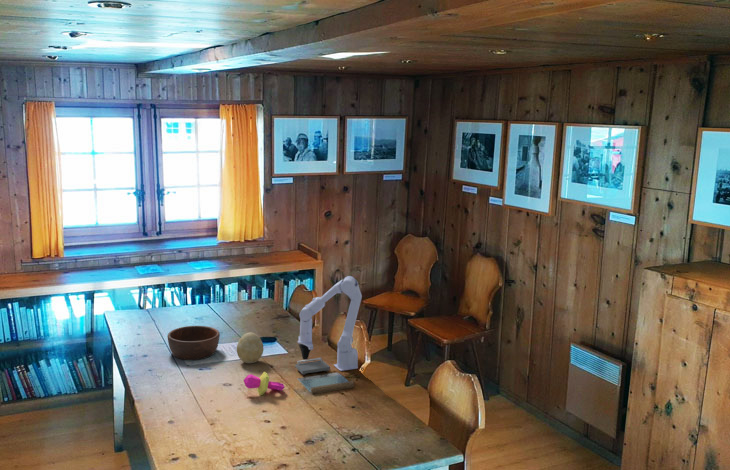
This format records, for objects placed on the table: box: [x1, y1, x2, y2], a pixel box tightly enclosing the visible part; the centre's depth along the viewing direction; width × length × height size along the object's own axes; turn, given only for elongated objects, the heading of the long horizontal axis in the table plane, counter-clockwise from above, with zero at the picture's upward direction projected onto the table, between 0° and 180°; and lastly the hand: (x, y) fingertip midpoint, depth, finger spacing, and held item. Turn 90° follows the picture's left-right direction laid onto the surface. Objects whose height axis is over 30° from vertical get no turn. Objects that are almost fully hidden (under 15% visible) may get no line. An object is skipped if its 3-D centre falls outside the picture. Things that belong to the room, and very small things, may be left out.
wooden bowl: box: [166, 325, 221, 361], centre depth 336 cm, size 25×25×10 cm
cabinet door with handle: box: [294, 357, 331, 376], centre depth 319 cm, size 14×9×4 cm, turn 116°
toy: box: [243, 371, 285, 396], centre depth 292 cm, size 10×18×10 cm, turn 110°
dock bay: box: [296, 372, 355, 395], centre depth 306 cm, size 20×18×3 cm
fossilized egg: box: [236, 331, 264, 364], centre depth 326 cm, size 13×13×15 cm
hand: (305, 358), depth 327 cm, fingers closed
